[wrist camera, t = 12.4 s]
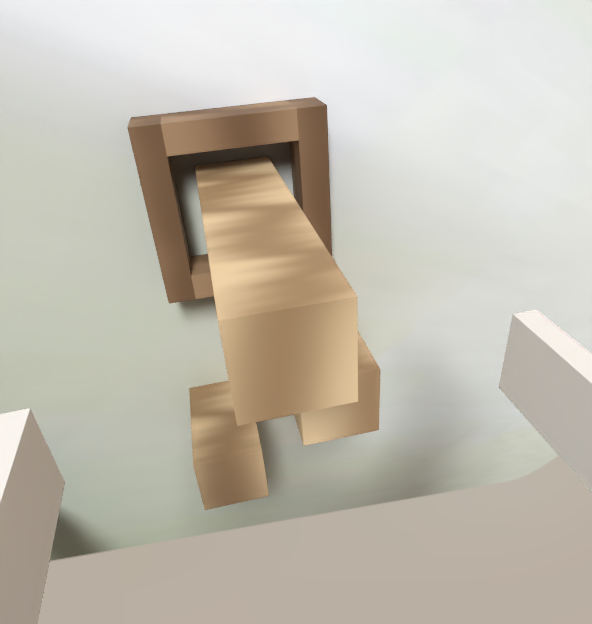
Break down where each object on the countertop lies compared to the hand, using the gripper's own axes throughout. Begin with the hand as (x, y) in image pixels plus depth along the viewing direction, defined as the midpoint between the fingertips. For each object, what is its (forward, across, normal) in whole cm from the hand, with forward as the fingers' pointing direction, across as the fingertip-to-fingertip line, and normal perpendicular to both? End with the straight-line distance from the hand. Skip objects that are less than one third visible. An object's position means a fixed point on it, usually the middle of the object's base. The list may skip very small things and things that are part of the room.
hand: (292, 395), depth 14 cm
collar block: (+17, +1, 0) cm, 17 cm away
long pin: (+17, +1, 0) cm, 17 cm away
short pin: (+18, -2, -15) cm, 23 cm away
